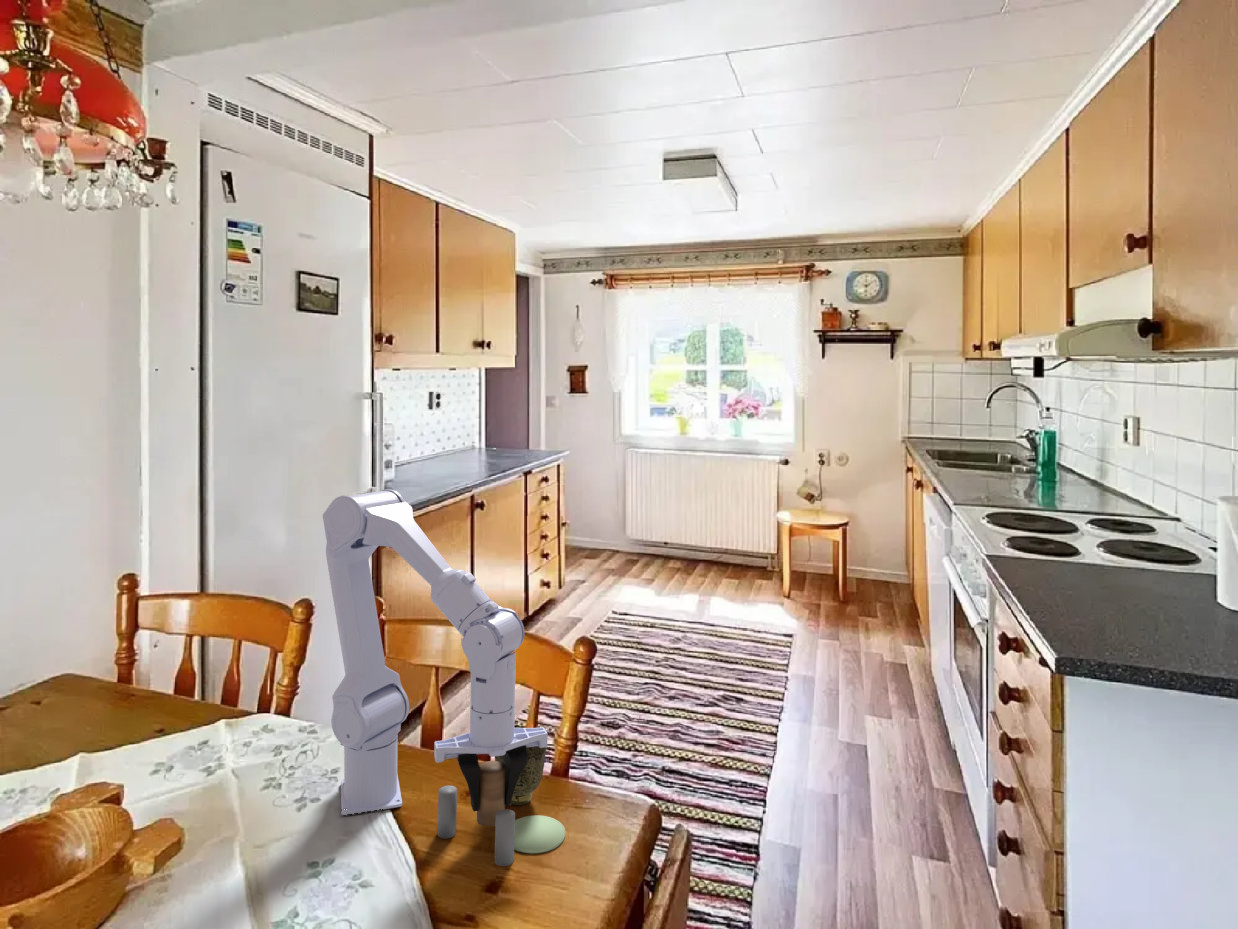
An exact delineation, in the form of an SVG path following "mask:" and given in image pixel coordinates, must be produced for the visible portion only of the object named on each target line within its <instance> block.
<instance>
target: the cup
mask: <svg viewBox="0 0 1238 929" xmlns="http://www.w3.org/2000/svg"><path fill="white" fill-rule="evenodd" d="M547 749H548V748H547V747H544V748H540V747H539V746H534V747H527V749H526V751H527V753H528V762H527V765H526V766H525V768H524V769H523V771H522V773H521V775H520V777H519V779H518V781H517V784H516V787H515V790H514V793H513V797H512V801H511V805H515V806H521V805H523V806H524V805H526V804H528V803H530V801H531V799H532V797H533V792H534V791H536V789H537V788H538V787H539V786H540V784H541V781H542V779H543V774H544V768H545V762H546V761H545V760H546V753H547ZM494 761H498V762H502V763H503V755H502V756H495V757H494Z"/></svg>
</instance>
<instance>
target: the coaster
mask: <svg viewBox="0 0 1238 929" xmlns="http://www.w3.org/2000/svg"><path fill="white" fill-rule="evenodd" d="M565 837H566V828H565V826H564V825H563V823H561V821H559V820H557V819H555V818H553V817H550V816H548V815H542V814H541V815H540V814H539V815H537V814H536V815H527V816H522V817H519V818H517V819H515V838H514V851H517V852H520V853H525V854H543V853H546V852H549V851H552V850H555V849H557V848H558V847H559V846H561V845H562V844H563V842H564V841H565Z"/></svg>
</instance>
